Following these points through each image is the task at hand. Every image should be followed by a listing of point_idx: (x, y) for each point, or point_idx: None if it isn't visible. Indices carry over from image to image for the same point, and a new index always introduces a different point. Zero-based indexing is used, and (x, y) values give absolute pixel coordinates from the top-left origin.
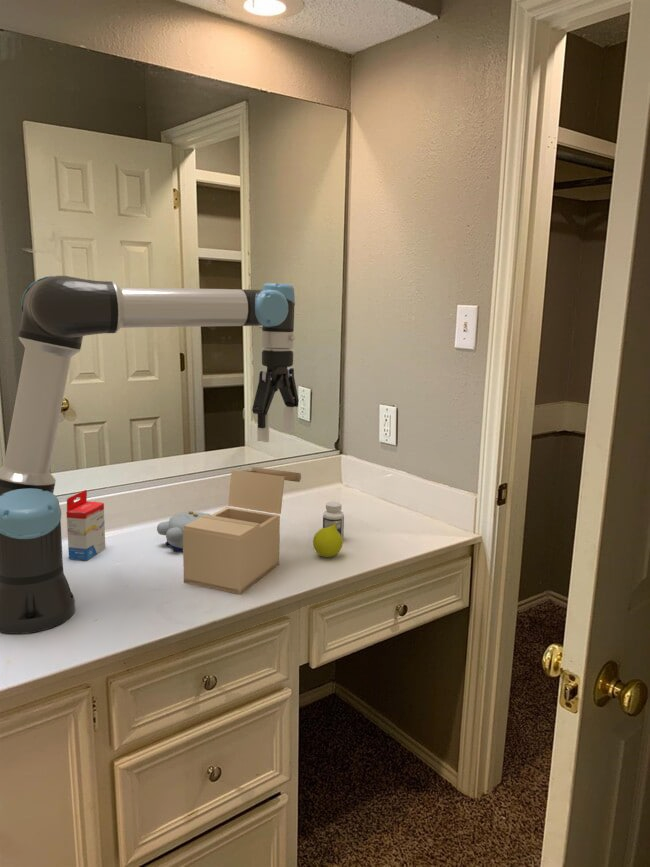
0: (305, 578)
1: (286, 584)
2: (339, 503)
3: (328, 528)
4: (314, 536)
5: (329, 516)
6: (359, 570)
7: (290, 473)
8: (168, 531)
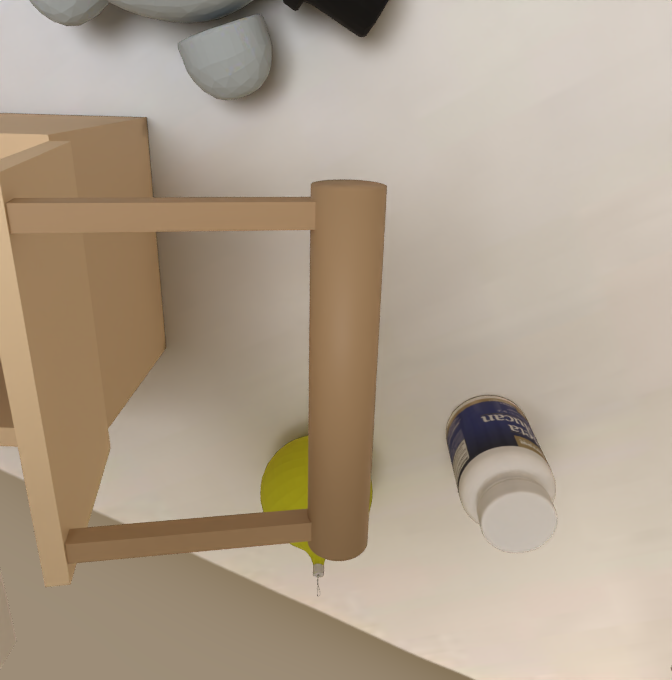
0: (113, 460)
1: None
2: (537, 542)
3: None
4: (291, 465)
5: (462, 490)
6: (253, 571)
7: (319, 508)
8: None
